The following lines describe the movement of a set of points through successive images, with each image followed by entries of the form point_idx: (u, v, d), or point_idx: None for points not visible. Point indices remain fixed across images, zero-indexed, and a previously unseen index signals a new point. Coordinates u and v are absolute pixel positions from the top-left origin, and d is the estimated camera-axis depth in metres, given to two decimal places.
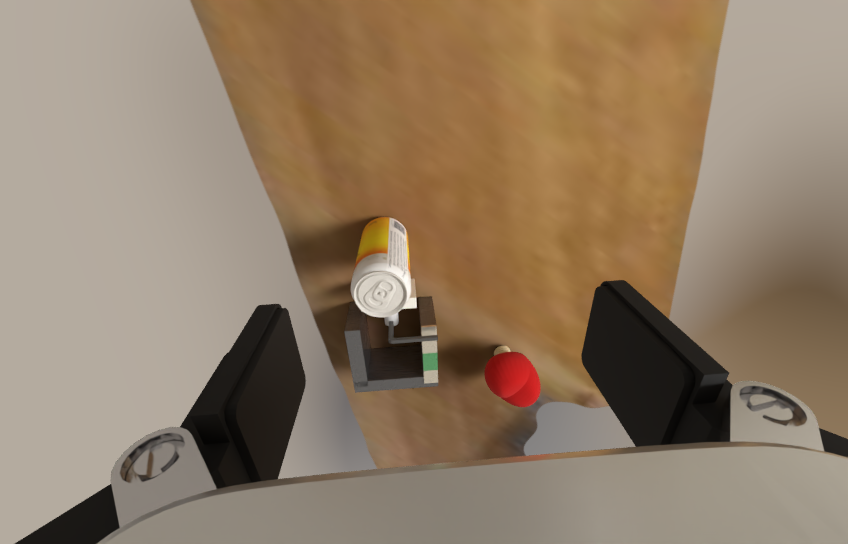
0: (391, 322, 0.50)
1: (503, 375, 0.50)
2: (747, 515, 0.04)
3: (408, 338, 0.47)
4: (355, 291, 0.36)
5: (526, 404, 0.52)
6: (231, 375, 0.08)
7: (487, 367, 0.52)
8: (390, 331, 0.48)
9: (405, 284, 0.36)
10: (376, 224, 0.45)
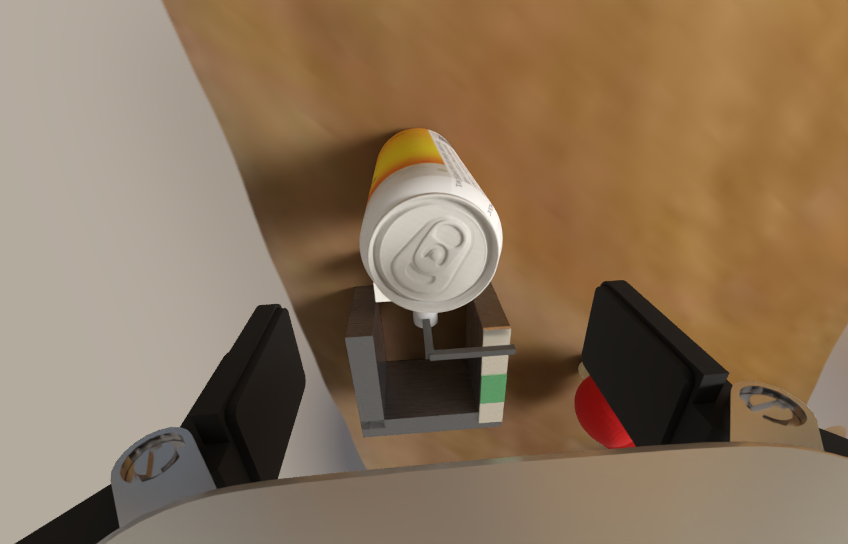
0: (427, 321, 0.29)
1: None
2: (746, 515, 0.04)
3: (462, 351, 0.26)
4: (372, 248, 0.14)
5: None
6: (231, 375, 0.08)
7: (584, 396, 0.31)
8: (427, 337, 0.27)
9: (495, 231, 0.14)
10: (405, 134, 0.23)
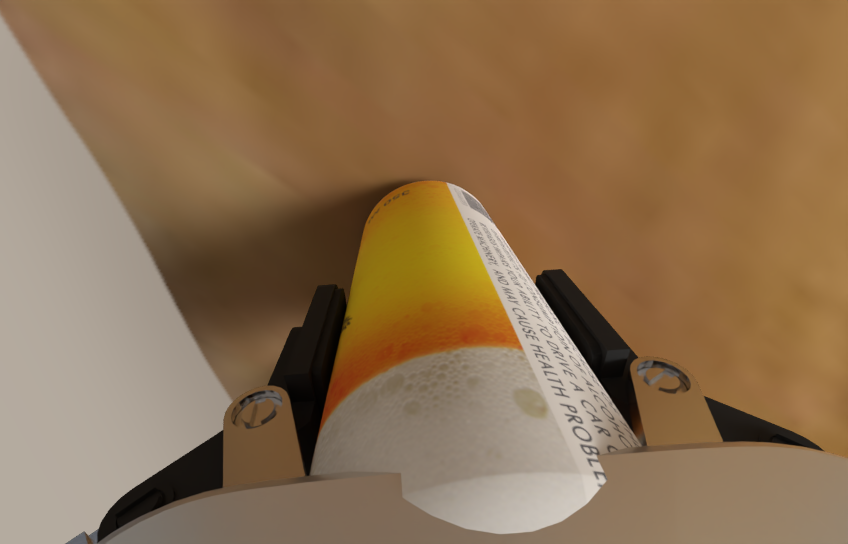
0: None
1: None
2: (747, 515, 0.04)
3: None
4: None
5: None
6: (311, 343, 0.08)
7: None
8: None
9: None
10: (411, 198, 0.14)
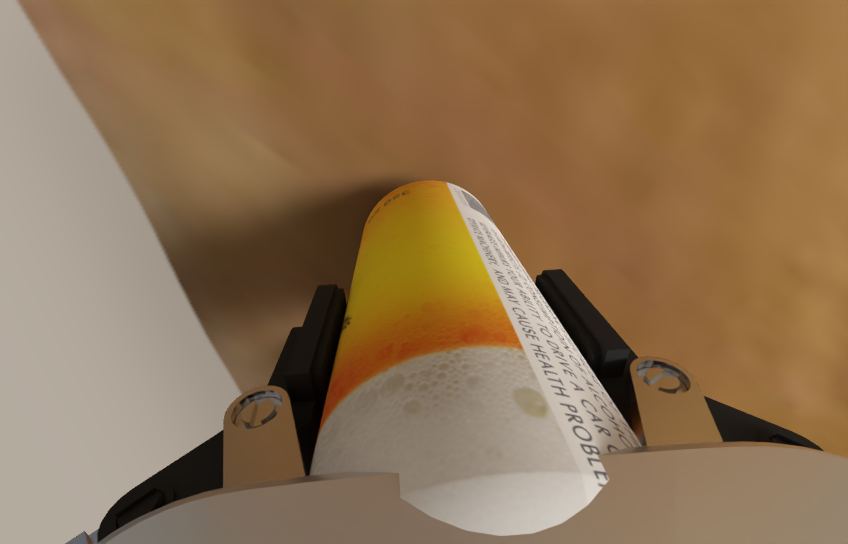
0: None
1: None
2: (747, 515, 0.04)
3: None
4: None
5: None
6: (311, 343, 0.08)
7: None
8: None
9: None
10: (411, 197, 0.14)
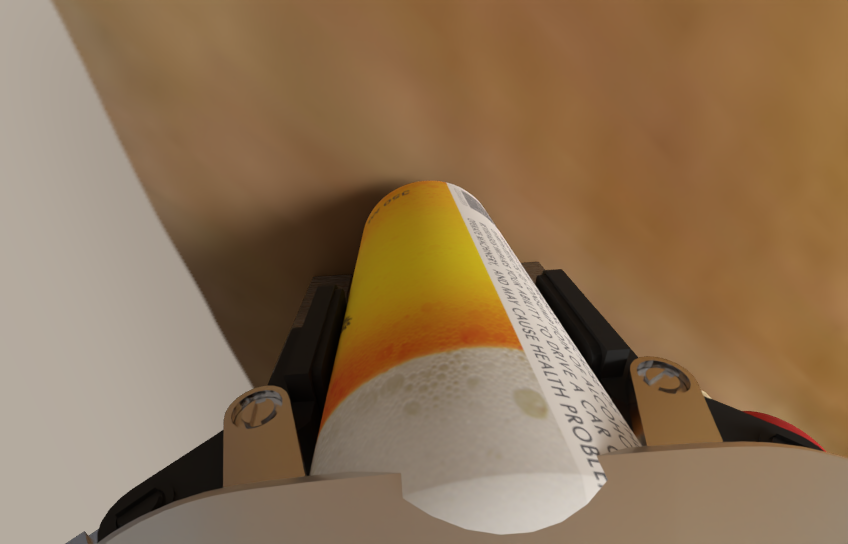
0: None
1: None
2: (747, 515, 0.04)
3: None
4: None
5: None
6: (311, 343, 0.08)
7: None
8: None
9: None
10: (411, 198, 0.14)
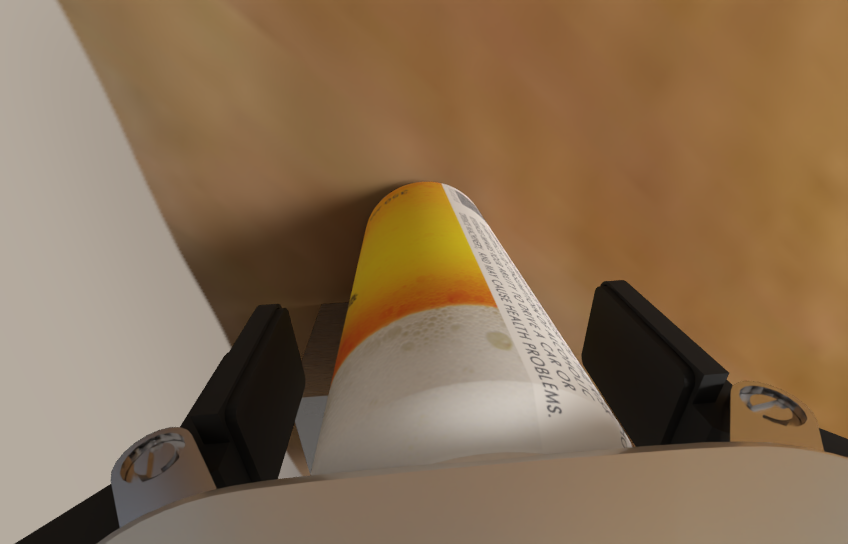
0: None
1: None
2: (747, 515, 0.04)
3: None
4: None
5: None
6: (231, 375, 0.08)
7: None
8: None
9: None
10: (409, 196, 0.15)
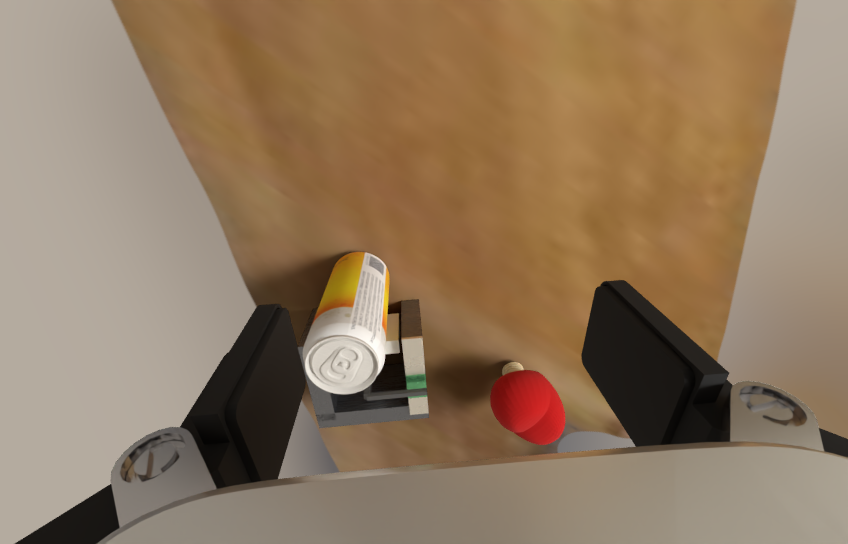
0: None
1: (516, 402, 0.37)
2: (747, 515, 0.04)
3: (389, 393, 0.36)
4: (307, 362, 0.26)
5: (547, 441, 0.39)
6: (231, 375, 0.08)
7: (493, 391, 0.39)
8: None
9: (375, 351, 0.26)
10: (347, 261, 0.36)
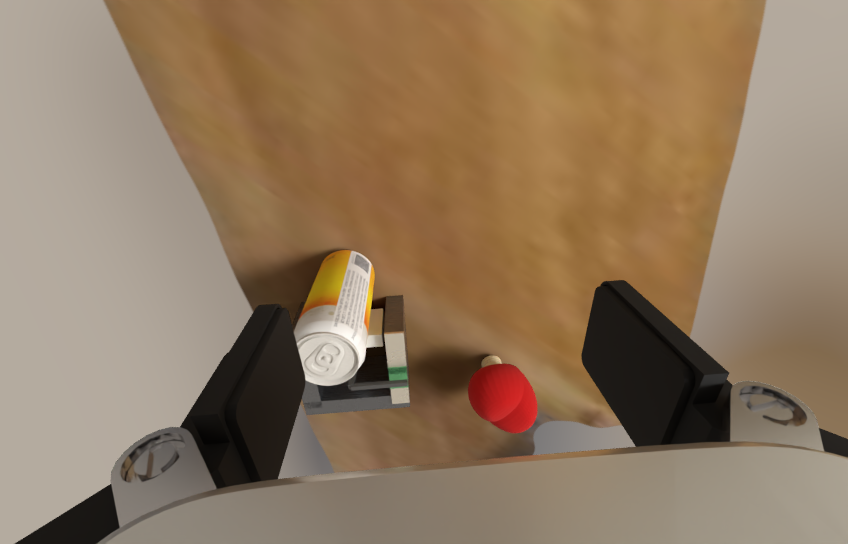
0: None
1: (491, 394, 0.40)
2: (747, 515, 0.04)
3: (372, 384, 0.39)
4: None
5: (519, 430, 0.41)
6: (231, 375, 0.08)
7: (471, 383, 0.42)
8: None
9: (356, 347, 0.28)
10: (333, 259, 0.38)
